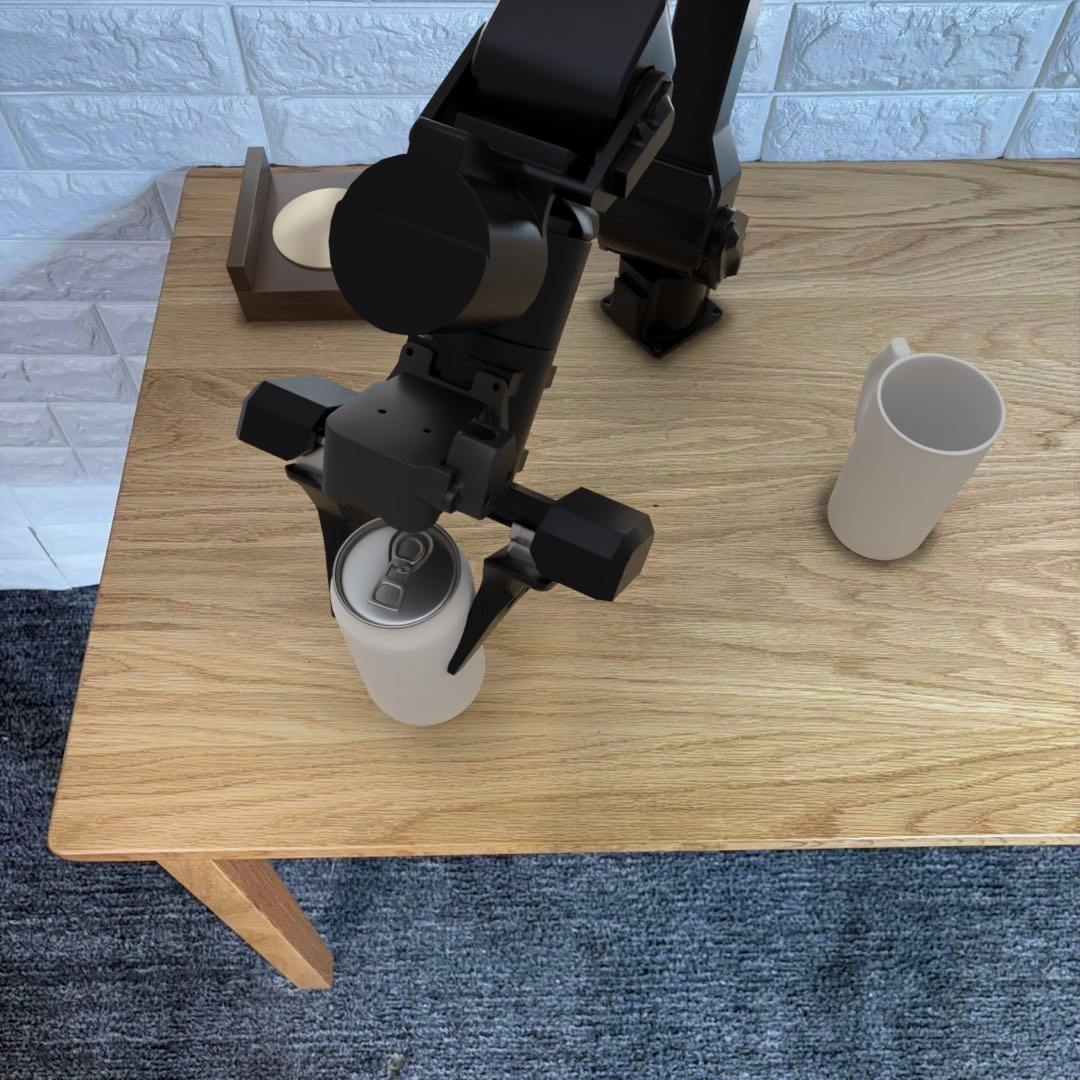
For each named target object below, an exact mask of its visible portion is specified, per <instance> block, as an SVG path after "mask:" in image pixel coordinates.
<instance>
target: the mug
mask: <svg viewBox="0 0 1080 1080" xmlns="http://www.w3.org/2000/svg"><path fill="white" fill-rule="evenodd" d="M856 406H857V407H856V412H855V417H854V422H853V430H854V433H855V436H854V439H853V441H852V444H851V446H850V448H849V451H848V453H847V455H846V456H845V457H846V458H845V460H844V463H843V464H842V467H841V469H840V472H839V474H838V476H837V479H836V482H835V484H834V487H833V489H832V492H831V494H830V496H829V499H828V502H827V503H828V504H827V509H826V510H827V511H826V512H827V513H826V514H827V520H828V524H829V526H830V529H831V531H832V532H833V534H834V535H835V537H836V539H838V540H839V541H840V543H841V544H843V546H845V547H846V548H847V549H849V550H850V551H852V552H854V553H855V554H857V555H859V556H861V557H864V558H867V559H871V560H877V561H893V560H898V559H901V558H903V557H907V556H909V555H910V554H912V553H913V552H915V550H917V549H918V548H919V547H920V546H921V544H922V543H923V542H924V541H925V539H926V538H927V536H928V535H929V534H930V533H931V532H932V531H933V528H935V526H936V525H937V524H938V522H939V521H940V519H941V518H942V517H943V515H944V514H945V513H946V511H947V509H948V508H949V506H950V505H951V504H952V503H953V501H954V499H955V498H956V497H957V495H958V494H959V493H960V491H961V490H962V488H963V487H964V486H965V485H966V483H967V482H968V480H969V479H970V478H971V476H972V475H973V473H974V472H975V471H976V470H977V468H978V466H979V465H980V464H981V462H982V461H983V459H984V458H985V457H986V455H987V454H988V453H989V451H990V449H991V448H992V446H993V445H994V443H995V442H996V440H997V439H998V438H999V437H1000V435H1001V434H1002V433H1003V430H1004V427H1005V424H1006V421H1007V420H1006V419H1007V410H1006V403H1005V401H1004V398H1003V395H1002V393H1001V391H1000V390H999V387H997V385H996V384H995V383H994V381H992V379H991V378H990V377H989V376H988V375H987V374H986V373H985V372H983V371H982V370H981V369H979V368H978V367H976V366H975V365H973V364H972V363H970V362H968V361H966V360H963V359H961V358H958V357H956V356H952V355H948V354H943V353H937V352H936V353H935V352H920V353H914V354H912V350H911V348H910V346H909V343H908V340H907V338H906V337H895V338H892V339H891V340H890V341H889V343H888V345H886V346H885V347H883V348H882V349H880V351H878V352H877V353H876V354H875V355H874V356H873V358H872V359H871V361H870V363H869V365H868V367H867V369H866V372H865V375H864V377H863V381H862V384H861V389H860V391H859V396H858V401H857V405H856Z"/></svg>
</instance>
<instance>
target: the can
mask: <svg viewBox="0 0 1080 1080" xmlns="http://www.w3.org/2000/svg"><path fill="white" fill-rule="evenodd" d="M474 580H475V579H474V575H473V571H472V567H471V565H470V561H469V560H468V557H467V556H466V554H465V553H464V550H463V549H462V548H461V546H459V544H458V543H457V542H456V541H455V540H454V538H453V537H452V536H451V535H450V533H448V531H447V530H446V529H445V528H443V526H441V525H439V523H437V522H436V523H435V524H434V525H433V526H432V527H431V528H429V529H427V530H425V531H422V532H418V533H407V532H402V531H399V530H396V529H394V528H392V527H390V526H388V525H387V524H386V523H385V521H384V520H383V519H382V518H376V519H373V520H371V521H369V522H367V523H365V524H364V525H362V526H360V527H359V528H358V529H356V530H355V531H354V532H353V533H352V534H351V535H350V536H349V537H348V538H347V539H346V540H345V541H344V543H343V544H342V546H341V547H340V549H339V551H338V553H337V555H336V558H335V561H334V565H333V575H332V579H331V586H330V596H329V598H330V597H331V603H332V608H333V611H334V614H335V617H336V619H335V620H336V623H337V625H338V627H339V629H340V631H341V633H342V636H343V639H344V640H345V642H346V646H347V648H348V650H349V652H350V654H351V657H352V659H353V661H354V663H355V666H356V668H357V670H358V673H359V675H360V677H361V679H362V681H363V684H364V686H365V687H366V690H367V692H368V694H369V696H370V698H371V699H372V701H373V703H374V704H375V705H376V706H377V708H379V709H380V710H381V712H382V713H384V714H385V715H386V716H388V717H389V718H391V719H393V720H395V721H397V722H400V723H402V724H406V725H409V726H417V727H424V726H425V727H426V726H427V727H428V726H434V725H438V724H442V723H445V722H447V721H449V720H452V719H454V718H455V717H457V716H458V715H461V713H463V712H464V711H465V710H467V708H468V707H469V706H470V705H471V704H472V703H473V701H474V700H475V698H477V696H478V694H479V692H480V690H481V688H482V685H483V682H484V678H485V672H486V661H485V660H486V659H485V650H484V643H483V644H482V645H481V646H480V648H479V649H478V650H477V651H476V653H475V654H474V655H473V656H472V657H471V659H470V660H469V661H468V662H467V664H466V665H465V666H464V667H463V668H462V669H461V670H460V671H459V672H458V673H457V674H456V675H454V676H453V675H451V674H449V673H447V668H448V664H449V662H450V660H451V658H452V656H453V655H454V653H455V651H456V649H457V647H458V644H459V642H460V640H461V637H462V634H463V631H464V628H465V624H466V620H467V616H468V612H469V610H470V608H471V606H472V603H473V601H474V599H475V597H476V594H477V592H476V587H475V581H474Z"/></svg>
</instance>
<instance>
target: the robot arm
mask: <svg viewBox="0 0 1080 1080" xmlns="http://www.w3.org/2000/svg"><path fill="white" fill-rule="evenodd" d="M763 1H764V0H676V3H675V7H674V12H673V17H672V21H671V15H670V8H671V5H672V2H673V0H497V1H496V3H495V5H494V6H493V8H492V10H491V12H490V14H489V16H488V18H487V20H485V21H484V22H483V23H482V24H481V25H480V26H479V27H478V28H477V30H476V31H475V33H473V36H472V37H471V38H470V39H469V42H468V43H467V45H465V47H464V49H463V51H462V52H461V53H460V55H459V57H458V58H457V59H456V61H455V62H454V64H453V65H452V67H451V68H450V70H449V71H448V72H447V74H446V75H445V76H444V78H443V79H442V81H441V83H440V84H439V85H438V87H437V89H436V90H435V92H434V93H433V95H432V96H431V97H430V99H429V101H428V102H427V103H426V105H425V106H424V108H423V109H422V110H421V112H420V114H419V116H417V118H416V120H415V121H414V123H413V124H412V126H411V128H410V129H409V132H408V139H407V140H408V146H407V150H406V153H400V154H399V153H398V154H395V155H392V156H388V157H385V158H381V159H380V160H378V161H377V162H374V163H373V164H371V165H370V166H368V167H367V168H365V169H364V170H363V171H361V172H362V173H361V174H360V175H359V176H358V177H357V178H356V179H355V180H354V181H353V182H352V183H351V185H350V186H349V188H348V190H347V191H346V193H345V195H344V196H343V198H342V200H340V201H338V202H337V203H336V205H335V208H334V212H333V215H332V218H331V223H330V231H329V240H328V244H329V255H330V264H331V267H332V271H333V274H334V277H335V280H336V284H337V285H338V287H339V289H340V291H341V293H342V294H343V296H344V298H345V300H346V302H347V303H348V304H349V305H350V306H351V307H352V308H353V309H354V311H355V312H356V313H357V314H358V315H359V316H360V317H361V318H363V319H362V320H364V321H366V322H367V323H369V324H370V325H371V326H372V327H375V328H376V329H378V330H381V331H383V332H385V333H387V334H393V335H401V336H407V339H406V342H405V343H404V344H403V345H402V346H401V349H400V352H399V357H398V360H397V363H396V365H394V367H393V369H392V371H391V372H390V373H389V375H388V376H387V378H386V380H380V381H376V382H374V383H372V384H371V385H369V386H368V387H367V388H365V389H363V390H362V391H360V392H358V391H356V390H353V389H351V388H350V387H347V386H344V385H341V384H339V383H337V382H335V381H332V380H330V379H328V378H325V377H322V376H321V375H318V374H311V375H301V376H292V377H291V376H290V377H283V378H282V377H281V378H273V379H264V380H263V381H261V382H260V383H258V384H257V385H255V386H254V387H253V388H252V389H251V391H250V392H249V393H248V394H247V395H246V397H245V398H244V399H243V401H242V406H241V409H240V415H239V418H238V422H237V427H236V431H235V435H236V437H237V440H238V441H240V442H243V443H245V444H247V445H249V446H251V447H254V448H256V449H258V450H260V451H263V452H265V453H268V454H270V455H272V456H273V457H275V458H278V459H280V460H283V461H285V462H288V461H294V460H295V461H294V462H292V463H287V464H285V466H284V471H285V475H286V477H287V478H288V479H289V480H290V481H291V482H294V483H296V484H298V485H299V486H300V487H301V488H302V489H303V491H304V492H305V493H306V495H307V496H308V498H309V499H310V500H311V501H312V504H313V505H314V507H315V508H316V512H317V515H318V520H319V523H320V529H321V534H322V540H323V547H324V552H325V553H324V557H325V566H326V575H327V576H326V577H327V585H328V586H327V587H328V595H329V604H330V615H331V617H332V618H333V619H335V620H336V617H335V614H334V611H333V608H332V603H331V597H330V586H331V579H332V575H333V565H334V561H335V558H336V555H337V553H338V551H339V549H340V547H341V546H342V544H343V543H344V541H345V540H346V539H347V538H348V537H349V536H350V535H351V534H352V533H353V532H354V531H355V530H356V529H358V528H359V527H360V526H362V525H364V524H365V523H367V522H369V521H371V520H373V519H376V518H382V519H383V520H384V521H385V523H386V524H387V525H388V526H390V527H392V528H394V529H396V530H399V531H402V532H407V533H418V532H422V531H425V530H427V529H429V528H431V527H432V526H433V525H434V524H435V523H436V524H437V522H438V520H439V519H440V517H441V515H442V514H443V513H447V514H449V515H452V514H454V513H455V512H459V513H461V514H464V515H465V516H468V517H470V518H472V519H475V520H476V521H479V522H480V521H482V520H485V519H486V518H487V519H490V520H492V521H494V522H496V523H498V524H500V525H502V526H505V527H507V528H510V530H509V533H508V536H507V538H508V539H510V540H509V542H508V544H506V545H505V546H503V547H501V548H500V549H498V550H497V551H495V552H493V553H491V554H490V555H488V556H486V557H485V558H484V559H483V563H482V576H481V577H482V578H481V583H480V585H479V588H478V590H477V592H476V597H475V599H474V601H473V603H472V606H471V608H470V610H469V612H468V616H467V620H466V624H465V628H464V631H463V634H462V637H461V640H460V642H459V644H458V647H457V649H456V651H455V653H454V655H453V656H452V658H451V660H450V662H449V664H448V668H447V673H449V674H451V675H453V676H454V675H456V674H457V673H458V672H459V671H460V670H461V669H462V668H463V667H464V666H465V665H466V664H467V662H468V661H469V660H470V659H471V657H472V656H473V655H474V654H475V653H476V651H477V650H478V649H479V648H480V646H481V645H482V644H483V645H484V643H485V642H486V641H487V640H488V638H489V637H490V635H491V634H492V633H493V632H494V631H495V629H496V628H497V627H498V626H499V625H500V624H501V622H502V621H503V619H504V618H505V617H506V616H507V615H508V613H509V612H510V611H511V610H512V608H513V607H514V606H515V605H516V604H517V603H518V601H520V600H521V598H522V597H523V596H524V595H526V593H527V592H529V590H533V591H536V592H542V593H543V592H549V591H550V590H552V589H554V588H555V587H556V586H557V585H559V584H560V585H562V586H564V587H566V588H567V589H571V590H573V591H575V592H578V593H580V594H582V595H584V596H586V597H589V598H591V599H593V600H595V601H600V602H601V601H602V602H610V603H612V602H614V601H615V600H616V599H617V598H618V596H620V594H622V592H623V591H624V590H625V589H626V588H627V587H629V585H630V584H631V583H633V581H634V580H635V579H636V578H637V577H638V576H639V575H640V574H641V573H642V571H643V568H644V566H645V564H646V561H647V558H648V555H649V552H650V550H651V547H652V545H653V542H654V538H655V534H656V533H655V532H656V531H655V528H654V525H653V523H652V520H651V516H650V514H648V513H646V512H644V511H641V510H639V509H636V508H634V507H631V506H629V505H627V504H624V503H622V502H619V501H617V500H615V499H612V498H610V497H607V496H606V495H603V494H600V493H598V492H596V491H594V490H591V489H589V488H587V487H584V486H582V485H581V486H579V487H578V488H576V489H574V490H572V491H571V492H570V491H569V492H568V493H567V494H565V495H563V496H561V497H560V498H557V499H554V498H552V497H550V496H547V495H545V494H543V493H540V492H538V491H536V490H533V489H531V488H528V487H526V486H524V485H521V484H519V483H517V482H514V480H515V477H516V475H517V473H520V472H523V471H524V468H525V464H526V461H527V460H528V459H527V458H528V456H529V453H530V450H529V449H526V448H525V447H526V444H527V441H528V438H529V435H530V433H531V430H532V427H533V423H534V420H535V417H536V415H537V412H538V408H539V405H540V402H541V400H542V396H543V394H544V390H545V389H546V390H547V389H551V387H552V384H553V381H554V379H555V376H556V373H557V369H558V366H557V365H554V364H553V363H554V361H555V357H556V354H557V352H558V347H559V344H560V341H561V339H562V336H563V333H564V330H565V327H566V324H567V321H568V319H569V315H570V311H571V308H572V307H573V302H574V300H575V297H576V294H577V291H578V287H579V285H580V283H581V279H582V276H583V273H584V270H585V267H586V264H587V261H588V258H589V255H590V253H591V250H592V247H593V242H592V241H594V240H595V239H596V241H597V246H598V249H599V250H601V251H604V252H611V253H614V254H617V255H619V261H618V270H617V271H618V272H617V276H615V277H614V280H613V291H612V292H611V293H609V294H607V295H605V296H603V297H602V298H601V299H600V303H599V307H600V309H601V310H602V311H603V313H605V314H606V315H607V316H608V317H609V318H610V320H611V321H612V322H613V323H614V324H615V325H617V327H619V328H620V329H621V330H622V331H623V332H624V333H625V334H626V335H627V336H628V337H629V338H630V339H631V340H633V341H635V342H636V343H637V344H639V346H641V347H642V348H643V349H644V350H645V351H647V353H648V354H649V355H650V356H652V358H656V359H661V358H663V357H665V356H666V355H667V354H670V353H671V352H673V351H675V350H676V349H677V348H679V347H680V346H681V345H683V344H685V343H686V342H688V341H689V340H691V339H693V338H694V337H695V336H697V335H699V334H700V333H702V332H703V331H705V330H707V329H708V328H710V327H712V325H714V324H716V323H718V321H719V322H720V320H721V319H722V318H723V315H724V311H723V309H722V308H721V307H720V306H719V305H718V304H717V303H715V302H714V301H713V300H712V299H711V298H710V293H711V290H712V291H715V292H716V291H717V290H718V287H720V284H721V283H722V282H723V280H726V279H727V278H730V277H735V276H737V275H738V273H739V272H740V269H741V265H742V261H743V257H744V252H745V251H744V249H745V247H744V243H745V240H746V237H747V232H746V230H747V226H748V223H749V220H750V217H749V216H748V215H747V214H745V213H744V212H742V211H741V210H739V209H738V208H734V203H735V200H736V196H737V192H738V189H739V184H740V181H741V177H742V167H741V163H740V160H739V156H738V152H737V149H736V145H735V141H734V137H733V133H732V129H731V126H730V120H731V116H732V113H733V109H734V105H735V101H736V98H737V94H738V91H739V87H740V85H741V80H742V78H743V77H742V76H743V73H744V70H745V65H746V62H747V59H748V55H749V51H750V49H751V45H752V42H753V39H754V38H753V37H754V34H755V32H756V31H755V30H756V27H757V23H758V19H759V16H760V12H761V9H762V5H763Z"/></svg>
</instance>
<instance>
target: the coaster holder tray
mask: <svg viewBox="0 0 1080 1080" xmlns="http://www.w3.org/2000/svg"><path fill="white" fill-rule="evenodd" d="M362 172H363V171H329V172H328V171H327V172H325V171H322V172H320V171H319V172H318V171H317V172H272V170H271V166H270V164H269V160H268V157H267V153H266V149H265V147H264V146H248V147H247V150H246V156H245V160H244V165H243V171H242V177H241V182H240V187H239V193H238V199H237V204H236V210H235V214H234V215H235V216H234V221H233V225H232V232H231V236H230V241H229V248H228V253H227V259H226V264H225V268H226V271H227V274H228V276H229V280H230V281H231V284H232V287H233V289H234V291H235V295H236V298H237V300H238V304H239V305H240V306H239V307H240V309H241V311H242V313H243V317H244V319H245V321H246V322H277V321H278V322H281V321H282V322H283V321H286V322H287V321H336V320H337V321H338V320H339V321H340V320H343V321H344V320H364V319H363V318H361V317H360V316H359V315H358V314H357V313H356V312H355V311H354V309H353V308H352V307H351V306H350V305H349V304H348V303H347V302H346V300H345V298H344V296H343V294H342V293H341V291H340V289H339V287H338V285H337V284H336V280H335V277H334V274H333V271H332V267H331V264H330V255H329V244H328V240H329V231H330V223H331V218H332V215H333V212H334V208H335V205H336V203H337V202H338V201H340V200H342V198H343V196H344V195H345V193H346V191H347V190H348V188H349V186H350V185H351V183H352V182H353V181H354V180H355V179H356V178H357V177H358V176H359V175H360V174H361V173H362Z"/></svg>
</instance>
